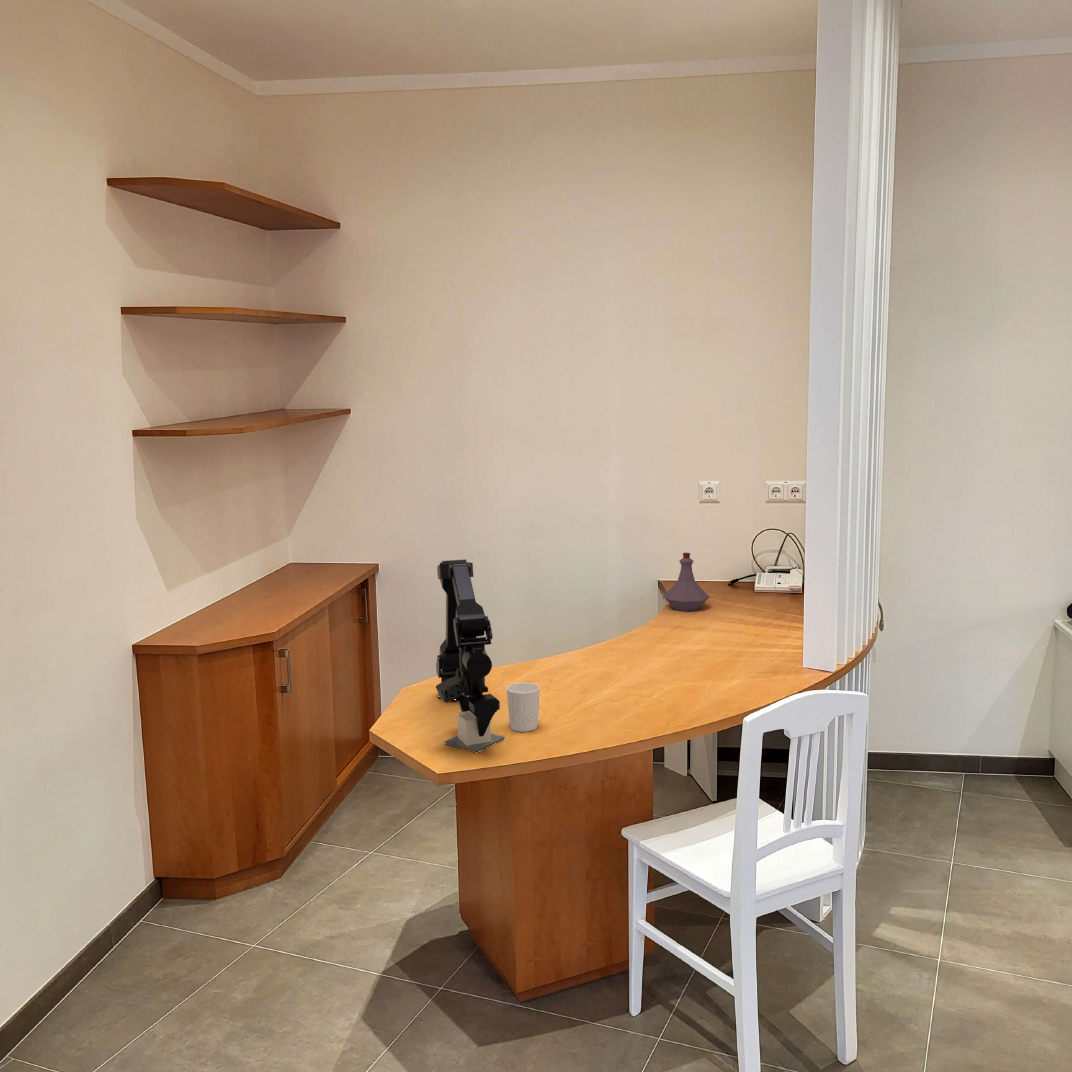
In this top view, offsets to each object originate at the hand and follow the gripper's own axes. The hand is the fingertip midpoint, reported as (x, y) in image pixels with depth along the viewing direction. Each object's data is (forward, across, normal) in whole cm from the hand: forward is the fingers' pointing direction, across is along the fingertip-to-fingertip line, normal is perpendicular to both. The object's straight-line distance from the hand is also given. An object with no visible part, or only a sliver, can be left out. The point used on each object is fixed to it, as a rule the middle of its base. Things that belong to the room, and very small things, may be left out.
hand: (474, 729), depth 231 cm
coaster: (+3, 0, 0) cm, 3 cm away
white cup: (+3, -4, +14) cm, 15 cm away
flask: (+3, -85, +113) cm, 142 cm away
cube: (+2, 0, 0) cm, 2 cm away
